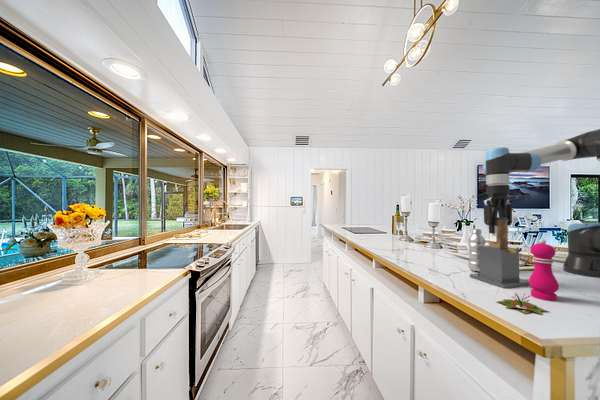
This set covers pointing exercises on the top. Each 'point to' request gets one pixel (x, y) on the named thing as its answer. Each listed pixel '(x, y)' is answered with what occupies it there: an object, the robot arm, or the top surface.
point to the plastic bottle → (475, 249)
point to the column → (500, 234)
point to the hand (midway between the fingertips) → (498, 241)
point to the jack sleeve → (500, 267)
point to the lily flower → (521, 304)
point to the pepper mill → (543, 272)
